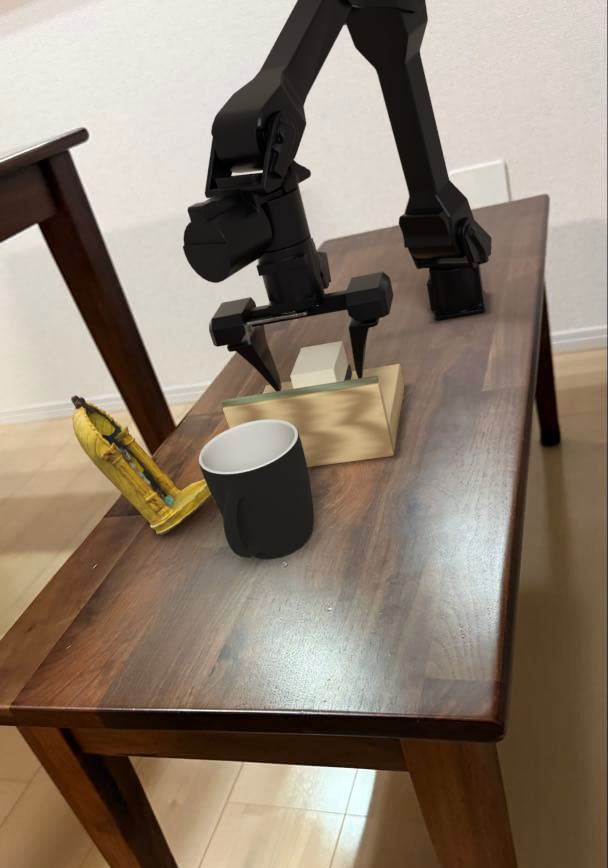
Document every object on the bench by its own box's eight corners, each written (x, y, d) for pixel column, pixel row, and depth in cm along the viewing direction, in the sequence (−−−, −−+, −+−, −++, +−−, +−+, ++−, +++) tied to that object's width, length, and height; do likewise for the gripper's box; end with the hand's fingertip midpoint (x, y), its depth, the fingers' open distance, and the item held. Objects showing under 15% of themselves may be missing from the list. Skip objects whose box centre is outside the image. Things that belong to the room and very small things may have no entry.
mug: (252, 511, 83) (221, 421, 77) (337, 509, 79) (311, 415, 74) (204, 591, 74) (165, 496, 68) (298, 592, 71) (265, 492, 65)
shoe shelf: (404, 387, 97) (390, 316, 92) (393, 456, 85) (376, 379, 80) (272, 407, 101) (252, 341, 96) (245, 475, 89) (220, 403, 84)
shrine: (106, 552, 84) (43, 420, 75) (138, 505, 90) (83, 378, 81) (210, 546, 80) (155, 406, 71) (236, 497, 86) (188, 363, 78)
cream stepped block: (352, 373, 96) (344, 339, 94) (340, 417, 88) (331, 381, 85) (308, 380, 97) (299, 347, 95) (293, 424, 89) (282, 389, 87)
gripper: (382, 198, 87) (409, 339, 95) (214, 235, 92) (254, 365, 100) (371, 232, 78) (402, 383, 86) (186, 270, 83) (233, 409, 92)
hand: (319, 384), depth 91 cm, fingers open, 9 cm apart
